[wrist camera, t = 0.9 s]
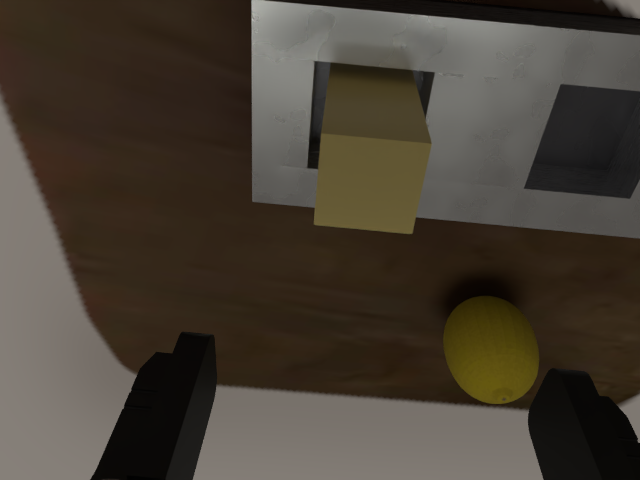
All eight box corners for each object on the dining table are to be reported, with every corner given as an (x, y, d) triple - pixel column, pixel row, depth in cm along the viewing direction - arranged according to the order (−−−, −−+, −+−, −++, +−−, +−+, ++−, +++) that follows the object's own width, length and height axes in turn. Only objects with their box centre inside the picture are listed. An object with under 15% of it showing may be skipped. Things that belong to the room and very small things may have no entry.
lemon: (528, 317, 36) (565, 416, 30) (451, 339, 38) (470, 437, 31) (506, 260, 33) (542, 355, 27) (424, 287, 35) (439, 383, 29)
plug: (331, 57, 26) (321, 133, 19) (411, 65, 26) (431, 143, 19) (323, 145, 29) (312, 240, 21) (395, 152, 29) (408, 249, 21)
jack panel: (263, -17, 25) (251, -1, 22) (727, 27, 24) (775, 48, 22) (262, 170, 30) (252, 201, 28) (635, 205, 30) (664, 240, 28)
